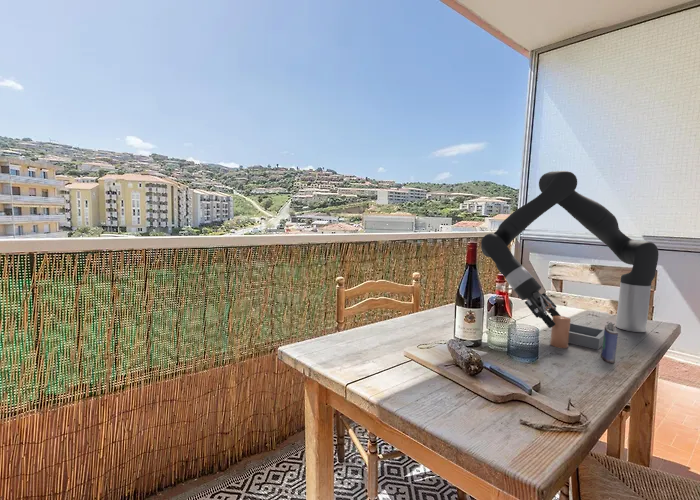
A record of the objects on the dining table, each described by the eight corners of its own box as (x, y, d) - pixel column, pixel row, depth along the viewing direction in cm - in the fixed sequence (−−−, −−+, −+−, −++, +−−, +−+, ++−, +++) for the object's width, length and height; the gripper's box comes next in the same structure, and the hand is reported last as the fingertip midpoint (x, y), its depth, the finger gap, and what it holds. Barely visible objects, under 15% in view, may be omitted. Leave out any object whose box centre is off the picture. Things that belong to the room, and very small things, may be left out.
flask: (615, 364, 106) (619, 327, 105) (603, 362, 108) (606, 325, 107) (611, 354, 115) (614, 319, 114) (599, 352, 116) (603, 317, 115)
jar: (552, 341, 124) (555, 314, 123) (569, 345, 121) (572, 318, 120) (548, 345, 121) (550, 317, 120) (565, 349, 117) (568, 320, 116)
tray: (562, 330, 137) (563, 321, 136) (607, 340, 128) (608, 330, 127) (551, 338, 127) (552, 328, 127) (598, 349, 118) (599, 338, 118)
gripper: (523, 278, 120) (560, 321, 114) (538, 274, 131) (573, 313, 124) (505, 292, 125) (540, 334, 118) (521, 287, 135) (554, 326, 128)
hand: (557, 323), depth 121 cm, fingers open, 8 cm apart
